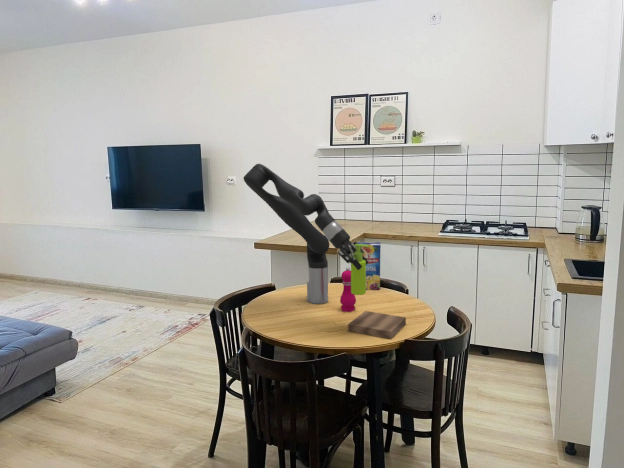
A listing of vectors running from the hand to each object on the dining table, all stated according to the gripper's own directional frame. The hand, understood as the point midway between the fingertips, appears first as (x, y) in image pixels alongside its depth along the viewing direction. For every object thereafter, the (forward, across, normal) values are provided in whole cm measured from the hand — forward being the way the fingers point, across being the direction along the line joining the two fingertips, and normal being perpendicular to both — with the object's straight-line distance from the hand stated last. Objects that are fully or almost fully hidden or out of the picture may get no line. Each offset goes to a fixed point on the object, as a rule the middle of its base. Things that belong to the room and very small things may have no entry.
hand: (363, 266), depth 185 cm
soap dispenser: (+7, 0, -9) cm, 12 cm away
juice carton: (+6, -54, -36) cm, 65 cm away
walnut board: (+22, -2, -15) cm, 27 cm away
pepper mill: (+8, -17, -30) cm, 36 cm away
